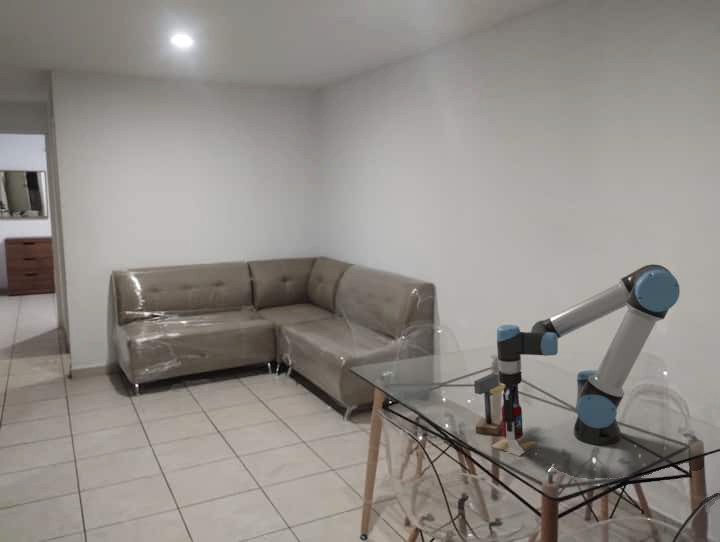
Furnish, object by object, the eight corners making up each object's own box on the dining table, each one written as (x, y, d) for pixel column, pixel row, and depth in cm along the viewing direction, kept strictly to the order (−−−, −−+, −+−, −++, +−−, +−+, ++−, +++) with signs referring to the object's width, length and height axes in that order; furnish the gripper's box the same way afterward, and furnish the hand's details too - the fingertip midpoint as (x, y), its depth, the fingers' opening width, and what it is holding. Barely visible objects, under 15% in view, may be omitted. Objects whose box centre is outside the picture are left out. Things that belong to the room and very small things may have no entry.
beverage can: (523, 441, 196) (522, 407, 194) (503, 441, 197) (501, 407, 196) (522, 432, 202) (520, 400, 201) (502, 432, 204) (500, 400, 202)
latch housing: (502, 426, 217) (502, 419, 217) (497, 435, 210) (497, 428, 209) (481, 424, 220) (480, 417, 220) (476, 432, 213) (475, 426, 213)
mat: (536, 444, 200) (536, 442, 200) (519, 456, 192) (519, 454, 192) (508, 436, 208) (508, 434, 208) (491, 447, 201) (491, 445, 200)
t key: (503, 412, 222) (500, 369, 220) (508, 414, 221) (506, 370, 218) (477, 426, 212) (474, 381, 210) (482, 428, 210) (479, 382, 208)
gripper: (504, 361, 207) (507, 422, 210) (492, 379, 189) (495, 445, 193) (526, 362, 203) (529, 424, 207) (515, 381, 186) (518, 448, 189)
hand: (512, 434), depth 200 cm, fingers closed on beverage can, 7 cm apart
